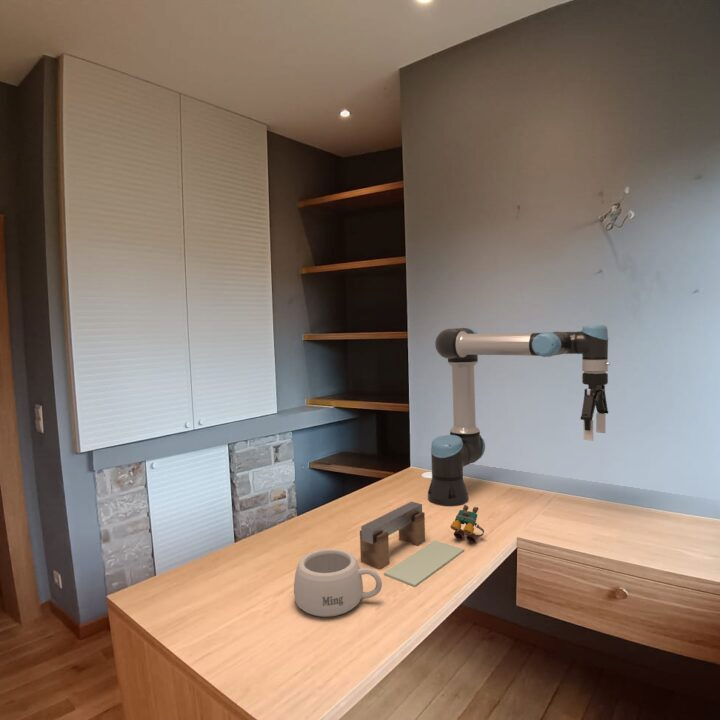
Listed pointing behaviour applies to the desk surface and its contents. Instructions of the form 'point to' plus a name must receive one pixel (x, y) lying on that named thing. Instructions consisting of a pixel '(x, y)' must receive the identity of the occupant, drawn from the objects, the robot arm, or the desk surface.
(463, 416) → the robot arm
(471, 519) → the binoculars
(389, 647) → the desk surface
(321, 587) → the mug
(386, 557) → the rack
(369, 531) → the rail
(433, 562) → the mat
